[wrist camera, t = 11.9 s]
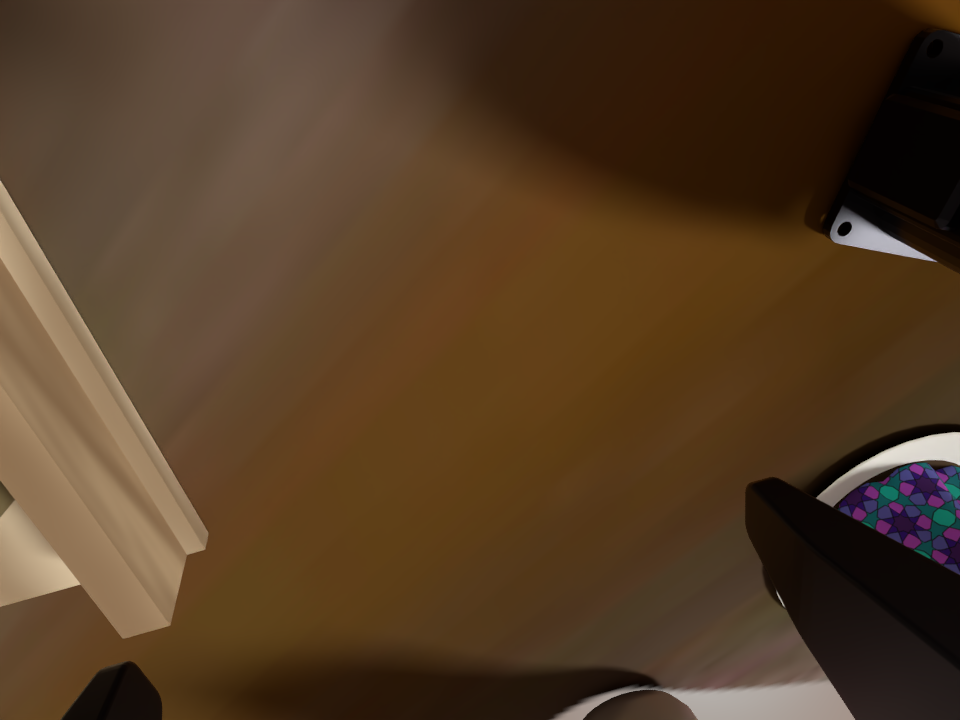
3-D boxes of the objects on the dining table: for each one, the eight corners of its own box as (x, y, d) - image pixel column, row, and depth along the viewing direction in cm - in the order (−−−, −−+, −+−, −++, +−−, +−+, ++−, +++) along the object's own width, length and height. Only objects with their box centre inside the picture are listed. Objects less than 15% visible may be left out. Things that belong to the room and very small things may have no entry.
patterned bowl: (993, 568, 36) (1086, 657, 31) (771, 643, 36) (832, 743, 31) (1030, 385, 29) (1153, 464, 25) (759, 476, 29) (834, 572, 25)
